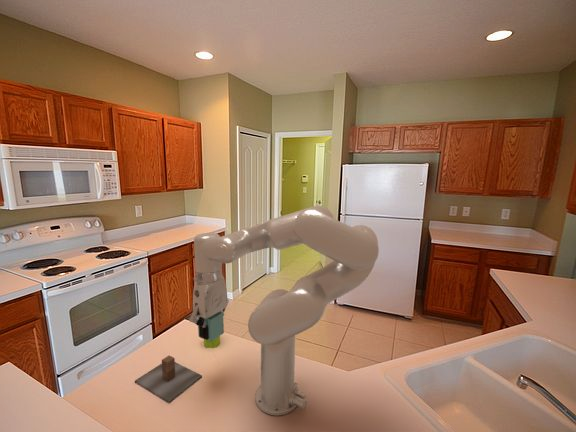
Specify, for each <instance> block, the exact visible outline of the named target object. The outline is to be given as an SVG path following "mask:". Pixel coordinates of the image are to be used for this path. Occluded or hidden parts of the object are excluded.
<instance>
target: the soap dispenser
mask: <svg viewBox="0 0 576 432" xmlns="http://www.w3.org/2000/svg"><path fill="white" fill-rule="evenodd" d="M220 344H221V335H220V336H219V337H217V338H216V339H215V340H213V341H212V342H211V341H208V340H205V339H203V346H204V347H205V348H207V349H213V348H217V347H218V346H219V345H220Z"/></svg>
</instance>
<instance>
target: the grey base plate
mask: <svg viewBox="0 0 576 432" xmlns="http://www.w3.org/2000/svg"><path fill="white" fill-rule="evenodd" d="M175 359H176V358H175V357H173V356H171V355H167V356H166V357H164V358H163V359H161V363H160V364H158V365H157V366H156V367H154V368H152V369H150V370H149V371H147V372H146V373H145V374H143V375H142V376H141V375H140V377H138V378H137V379H135V380H134V383H135V384H137V385H138V386H140V387H142V388H143V389H145V390H146V391H148V392H149V393H151V394H153V395H155V396H157V397H158V398H159V399H161V400H162V401H165V402H166V403H168V404H171V403H172V402H173V401H174V400H176V398H178V397H179V396H180V395H182V394H183V393H184V392H186V391H187V390H188V389H189V388H191V387H192V385H194V384H195V383H197V382H198V381H199V380H200V379H202V378H203V375H202V374H200V373H198V372H196V371H194V370H192V369H190V368H189V367H186V366H183V365H182V364H180V363H178V362H176V360H175Z"/></svg>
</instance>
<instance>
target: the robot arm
mask: <svg viewBox="0 0 576 432" xmlns="http://www.w3.org/2000/svg"><path fill="white" fill-rule="evenodd" d="M303 244H304V245H305V246H306V247H308V248H310V249H312V250H313V251H316V252H317V253H319V254H321V255H323V256H325V257H327V258H329V259H331V260H333V261H331V262H330V263H328V264H326V265H325V266H323V267H321V268H319V269H317V270H315V271H313V272H311V273H309V274H307V275H305V276H302V277H301V278H299V279H298V280H297V281H296V282H295V283H294V285H293V286H292V287H291V289H290V290H289V291H288V290H286V289H281V288H279V289H278V288H277V289H274V290H272V291H271V292H269V293H268V294H267V295H266V296H265V297H264V298H263V299H262V300H261V301H260V303H259V304H258V305H257V306H256V307H255V308H254V309H253V311H252V313H251V314H250V315H249V319H248V323H247V324H248V325H247V329H248V332H249V334H250V336H251V338H252V339H253V340H254V341H255V342H257V343H258V344H260V385H258V387H257V389H256V391H255V403H256V405H257V407H258V408H259V410H260V411H262V412H264V413H265V414H268V415H271V416H282V415H287V414H288V413H291V412H292V411H294V410H295V408H296V407H299V408H301V409H305V408H306V405H307V400H305V399H306V397H307V396H306V395H307V394H306V393H305V392H302V391H299V388H298V387H299V386H298V385H299V384H298V383H297V382H295V368H296V367H295V362H296V361H295V358H296V336H297V335H298V334H301V333H303V332H306V331H308V330H309V329H311V328H313V327H314V326H315V325H317V323H318V322H319V321H320V320H321V318H322V317H323V315H324V313H325V310H326V308H327V306H328V305H329V304H331V303H332V302H334V301H335V300H337V299H339V298H341V297H342V296H344V295H346V294H349V293H350V292H352V291H354V290H355V289H357V288H358V287H359V286H361V284H363V283H364V282H365V281H366V280H367V278H368V277H369V276H370V274H371V273H372V270H373V268H374V267H375V264H376V261H377V260H378V257H379V254H380V253H379V250H380V248H379V241H378V237H377V234H376V233H375V232H374V230H373V229H372V228H370V227H368V226H367V225H362V224H360V225H359V224H358V225H354V226H350V225H348V224H346V223H344V222H342V221H339V220H338V219H336V218H334V215H333V214H332V212H331V211H330V209H328V208H327V207H325V206H322V205H314V206H311V207H307V208H304V209H300V210H297V211H294V212H291V213H288V214H285V215H281V216H278V217H274V218H271V219H268V220H267V221H266V222H265V221H264V222H263V223H260V224H257V225H253V226H251V227H246V228H244V229H239V230H237V231H234V232H231V233H229V234H225V235H223V236H221V235H220V234H218V233H216V232H203V233H199V234H196V235H195V236H194V238H193V251H194V271H195V274H194V275H195V276H194V277H193V281H194V286H193V292H192V313H191V315H190V316H189V320H188V321H189V322H190V323H192V324H194V325H197V327H198V326H199V334H198V337H199V336H200V337H199V338H200V339H203V340H204V339H205V340H207V339H209V336H208V326H206V325H207V319H208V318H209V317H211V316H213V315H215V314H216V313H218V312H223V317H224V316H225V310H226V308H227V307H228V304H229V303H230V300H229V299H228V290H227V282H226V280H225V277H224V275H223V264H231V263H233V262H236V261H237V260H239V259H240V258H242V257H244V256H246V255H247V254H251V253H254V252H257V251H260V250H265V249H269V248H271V249H272V248H274V249H275V250H278V251H280V250H284V249H285V250H286V249H288V248H292V247H295V246H299V245H303ZM202 318H203V322H202Z"/></svg>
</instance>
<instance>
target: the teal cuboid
mask: <svg viewBox="0 0 576 432" xmlns="http://www.w3.org/2000/svg"><path fill="white" fill-rule="evenodd" d="M202 322H203V318H202ZM206 326H208V336H209V339H207V340H208V341H211V342H212V341H213V340H215V339H216V338H217V337H219V336H220V337H221V336H222V335H223V334H225V331H224V330H225V329H224V316H223V312H218V313H216V314H215V315H213V316H211V317H209V318H208V319H207V325H206ZM197 330H198V337H199V338H200V336H199V326H198V325H197Z"/></svg>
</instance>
